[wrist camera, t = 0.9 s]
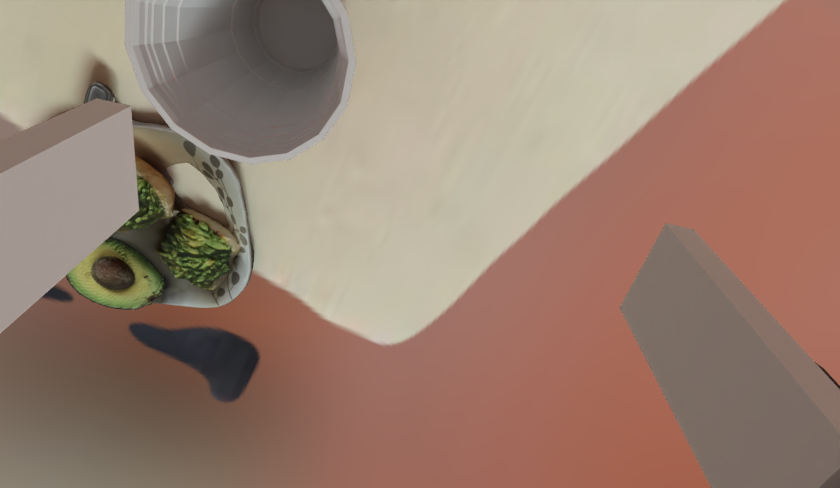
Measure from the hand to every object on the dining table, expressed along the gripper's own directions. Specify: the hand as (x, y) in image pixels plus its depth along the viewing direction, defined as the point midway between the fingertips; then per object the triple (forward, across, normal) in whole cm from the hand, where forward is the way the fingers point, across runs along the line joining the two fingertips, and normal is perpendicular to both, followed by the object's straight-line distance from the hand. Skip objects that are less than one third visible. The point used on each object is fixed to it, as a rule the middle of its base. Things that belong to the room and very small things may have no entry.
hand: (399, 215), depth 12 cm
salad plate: (+26, -19, -18) cm, 37 cm away
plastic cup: (+25, -8, 0) cm, 27 cm away
